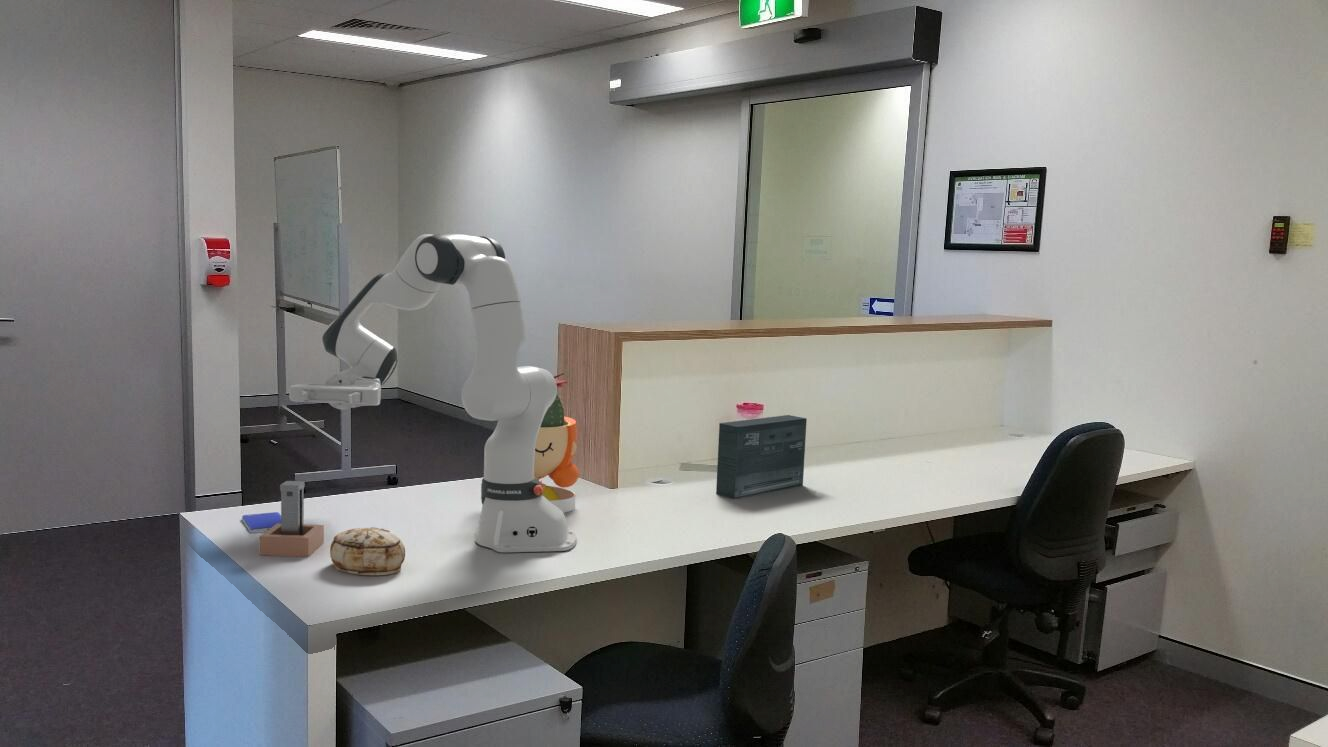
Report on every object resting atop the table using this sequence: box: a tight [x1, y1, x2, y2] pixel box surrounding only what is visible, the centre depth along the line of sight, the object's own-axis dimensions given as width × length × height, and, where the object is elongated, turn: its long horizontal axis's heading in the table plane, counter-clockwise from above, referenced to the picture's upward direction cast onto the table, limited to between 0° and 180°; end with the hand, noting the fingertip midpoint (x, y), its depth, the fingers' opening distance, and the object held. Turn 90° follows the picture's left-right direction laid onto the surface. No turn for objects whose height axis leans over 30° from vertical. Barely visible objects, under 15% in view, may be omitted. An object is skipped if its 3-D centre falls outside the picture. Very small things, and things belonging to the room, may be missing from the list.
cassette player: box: [715, 414, 807, 500], centre depth 282 cm, size 29×7×20 cm, turn 133°
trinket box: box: [329, 527, 406, 576], centre depth 201 cm, size 13×15×8 cm
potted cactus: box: [534, 372, 580, 514], centre depth 256 cm, size 22×22×35 cm
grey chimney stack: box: [279, 480, 306, 536], centre depth 210 cm, size 4×4×13 cm
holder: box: [259, 523, 325, 557], centre depth 211 cm, size 10×10×4 cm
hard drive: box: [241, 511, 281, 534], centre depth 229 cm, size 2×8×12 cm
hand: (325, 398), depth 224 cm, fingers open, 8 cm apart
